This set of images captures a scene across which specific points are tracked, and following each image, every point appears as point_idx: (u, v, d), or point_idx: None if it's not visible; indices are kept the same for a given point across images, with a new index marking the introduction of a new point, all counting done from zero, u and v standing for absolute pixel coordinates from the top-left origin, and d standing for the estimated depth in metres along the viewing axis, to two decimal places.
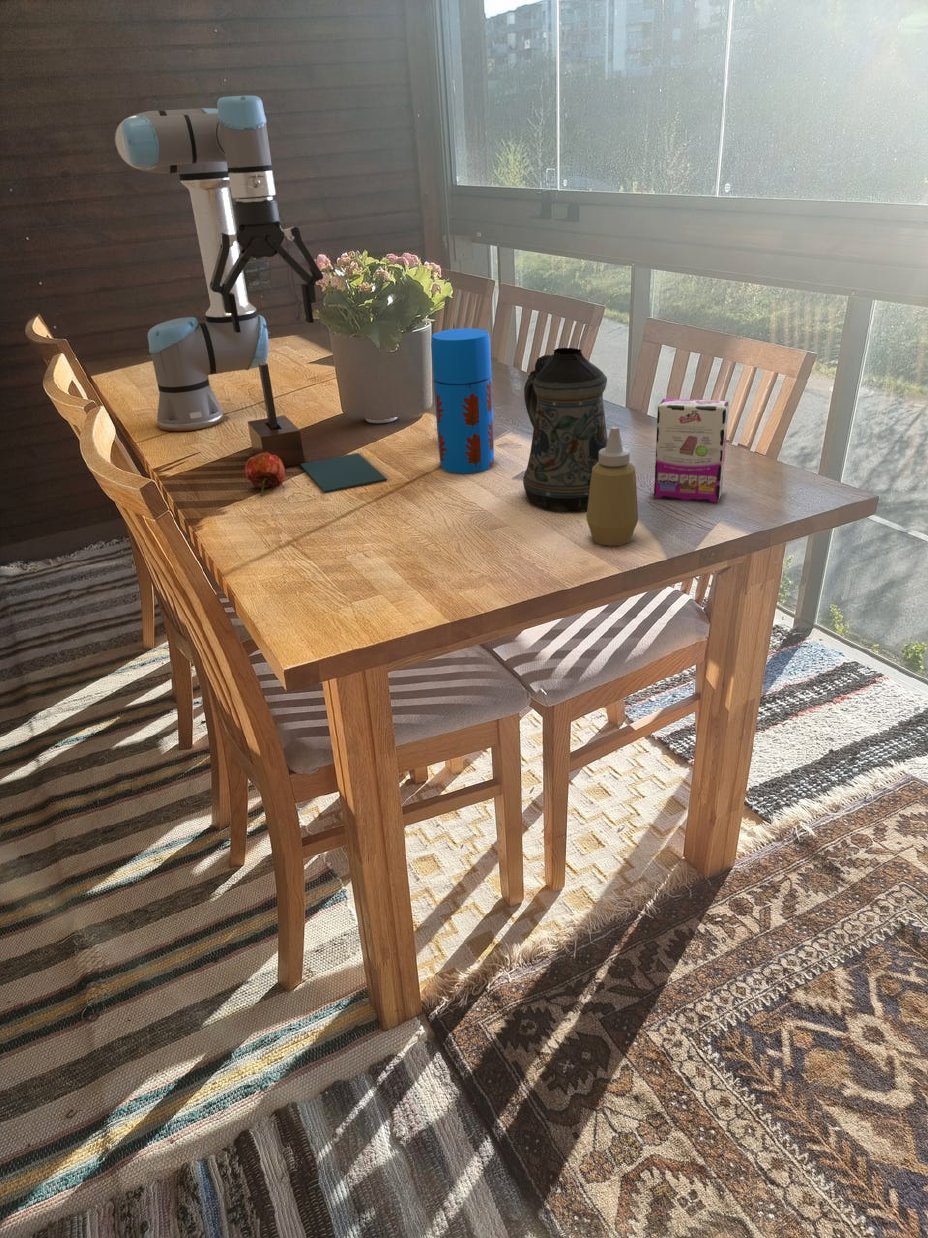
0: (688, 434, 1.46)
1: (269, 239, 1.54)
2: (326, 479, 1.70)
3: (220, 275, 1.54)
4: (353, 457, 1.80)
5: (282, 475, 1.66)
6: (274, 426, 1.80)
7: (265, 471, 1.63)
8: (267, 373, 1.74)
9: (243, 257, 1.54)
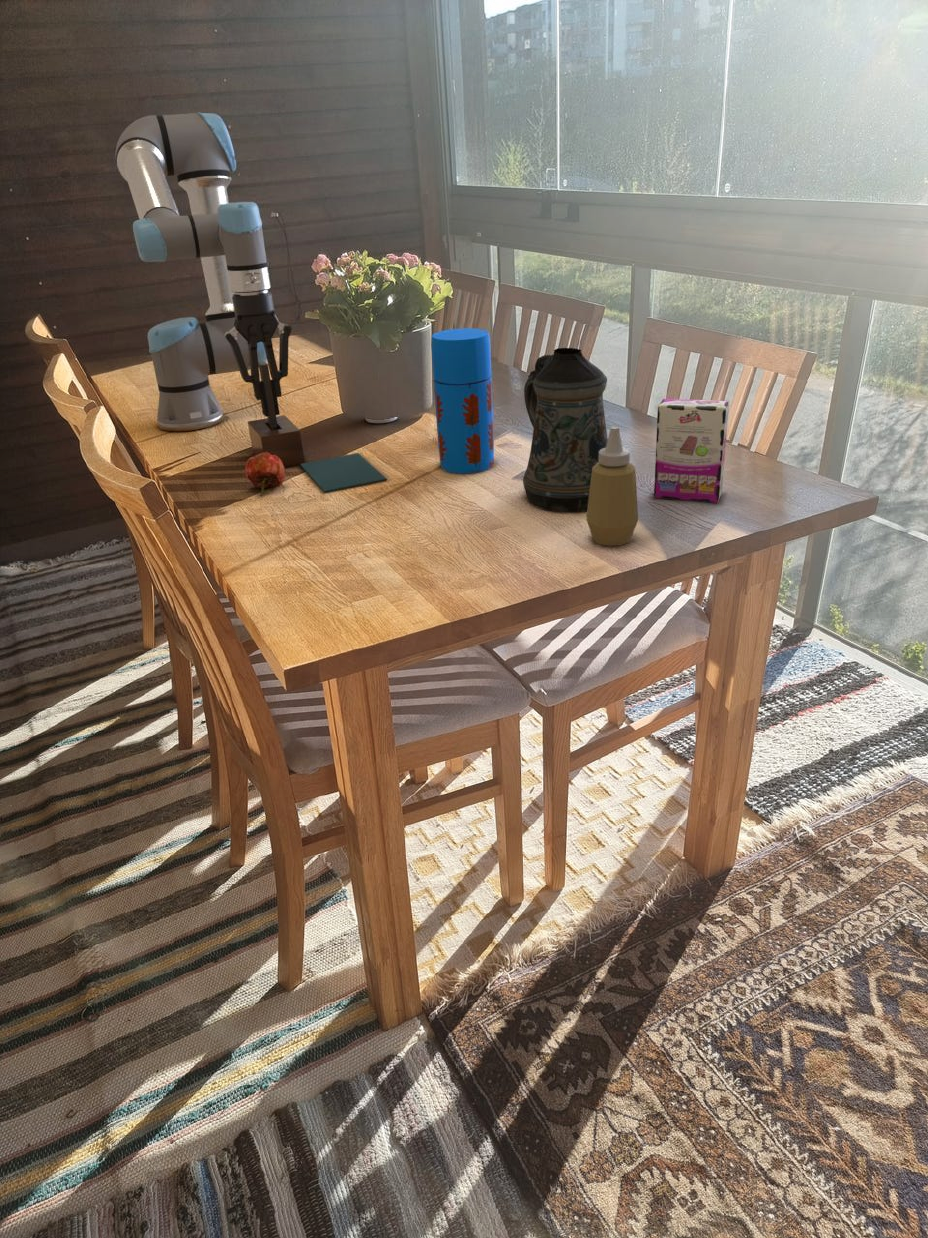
0: (688, 434, 1.46)
1: (265, 326, 1.70)
2: (326, 479, 1.70)
3: (244, 367, 1.72)
4: (353, 457, 1.80)
5: (282, 475, 1.66)
6: (274, 426, 1.80)
7: (265, 471, 1.63)
8: (267, 373, 1.74)
9: (252, 347, 1.71)
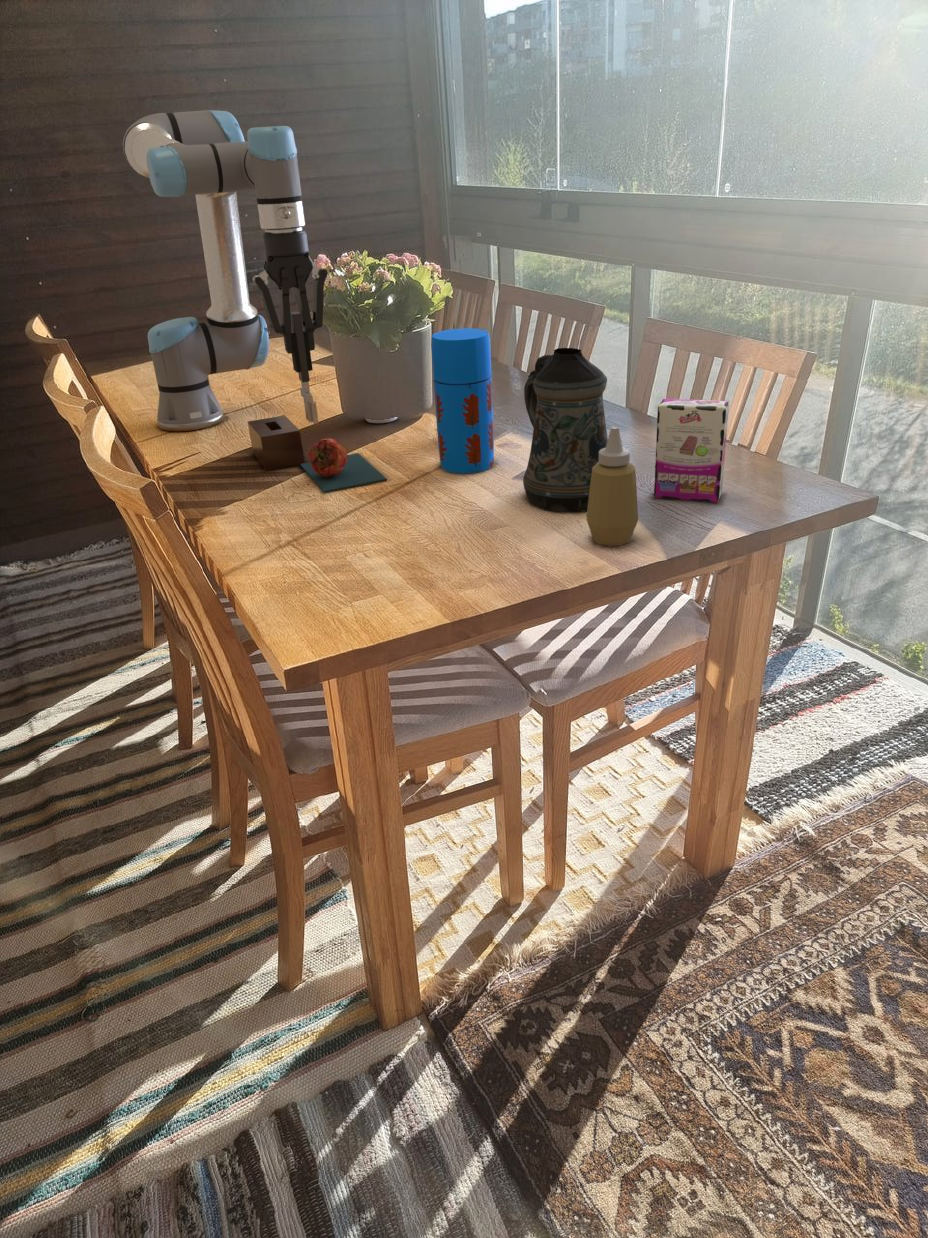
0: (688, 434, 1.46)
1: (298, 269, 1.52)
2: (326, 479, 1.70)
3: (275, 315, 1.54)
4: (353, 457, 1.80)
5: (331, 471, 1.68)
6: (306, 383, 1.62)
7: (338, 454, 1.67)
8: (300, 323, 1.56)
9: (283, 293, 1.53)
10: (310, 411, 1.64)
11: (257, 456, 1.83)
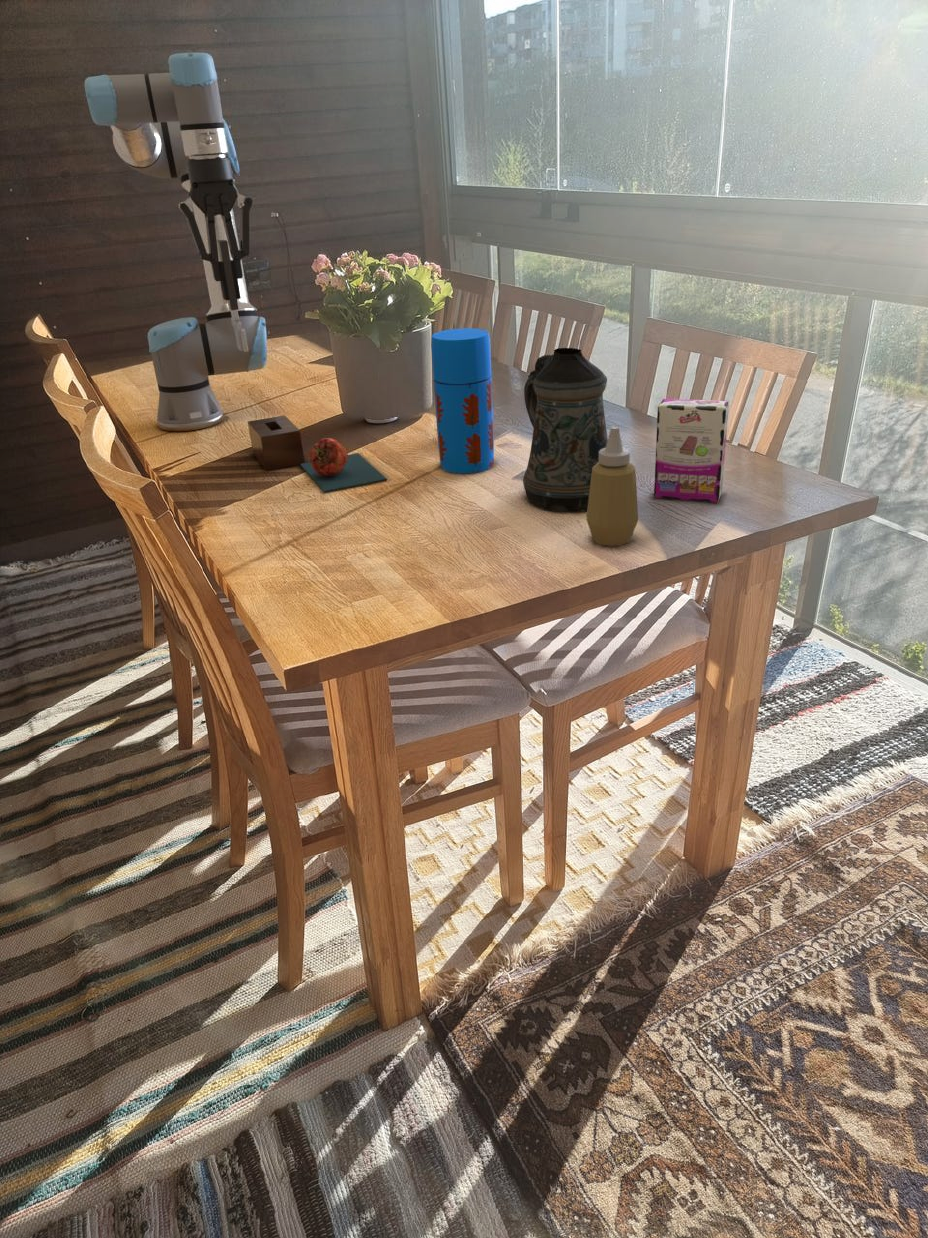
0: (688, 434, 1.46)
1: (223, 196, 1.56)
2: (326, 479, 1.70)
3: (201, 242, 1.59)
4: (353, 457, 1.80)
5: (331, 469, 1.68)
6: (235, 312, 1.66)
7: (338, 451, 1.67)
8: (227, 251, 1.61)
9: (209, 220, 1.57)
10: (240, 339, 1.69)
11: (257, 456, 1.83)
